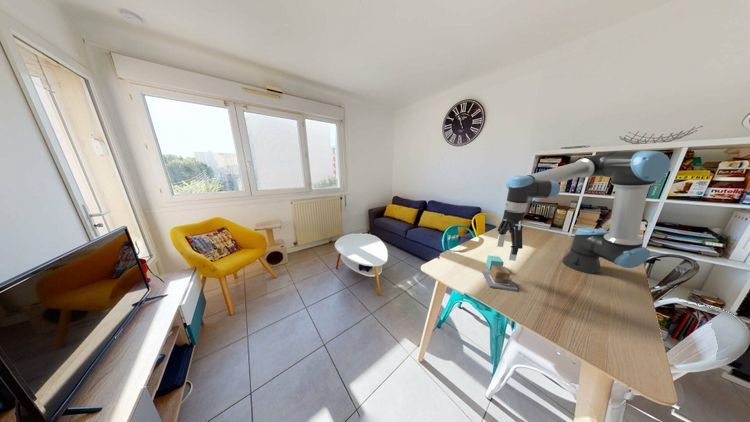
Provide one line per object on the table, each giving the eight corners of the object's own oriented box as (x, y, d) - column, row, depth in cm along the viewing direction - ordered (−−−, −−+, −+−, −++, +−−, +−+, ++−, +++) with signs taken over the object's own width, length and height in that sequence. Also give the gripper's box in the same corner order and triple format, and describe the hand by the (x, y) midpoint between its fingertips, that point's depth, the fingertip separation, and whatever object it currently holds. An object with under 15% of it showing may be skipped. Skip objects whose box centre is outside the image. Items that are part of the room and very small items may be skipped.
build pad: (506, 276, 101) (507, 274, 100) (517, 291, 90) (518, 289, 89) (482, 272, 103) (482, 271, 103) (489, 287, 92) (490, 285, 92)
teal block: (497, 265, 110) (499, 256, 109) (501, 271, 105) (503, 262, 103) (486, 264, 112) (487, 255, 110) (489, 270, 106) (491, 260, 104)
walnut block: (502, 276, 98) (505, 266, 97) (507, 284, 93) (510, 273, 91) (489, 275, 100) (492, 265, 98) (494, 282, 94) (496, 271, 92)
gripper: (495, 203, 98) (488, 241, 104) (518, 218, 75) (507, 265, 81) (511, 204, 97) (503, 242, 103) (540, 220, 73) (527, 268, 79)
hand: (505, 252), depth 92 cm, fingers open, 13 cm apart
